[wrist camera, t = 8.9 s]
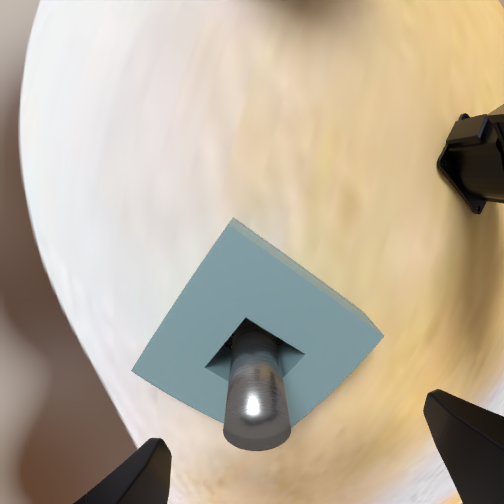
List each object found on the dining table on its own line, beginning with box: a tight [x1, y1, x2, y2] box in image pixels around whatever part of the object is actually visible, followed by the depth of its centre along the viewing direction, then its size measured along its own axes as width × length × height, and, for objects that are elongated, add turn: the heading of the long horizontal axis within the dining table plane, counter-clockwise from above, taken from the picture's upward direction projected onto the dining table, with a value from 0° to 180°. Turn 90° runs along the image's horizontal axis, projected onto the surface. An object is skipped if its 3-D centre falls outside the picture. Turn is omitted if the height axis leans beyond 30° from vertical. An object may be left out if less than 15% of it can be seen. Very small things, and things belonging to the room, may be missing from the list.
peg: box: [223, 317, 291, 451], centre depth 15 cm, size 3×3×10 cm
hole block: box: [132, 218, 384, 427], centre depth 18 cm, size 12×12×4 cm
